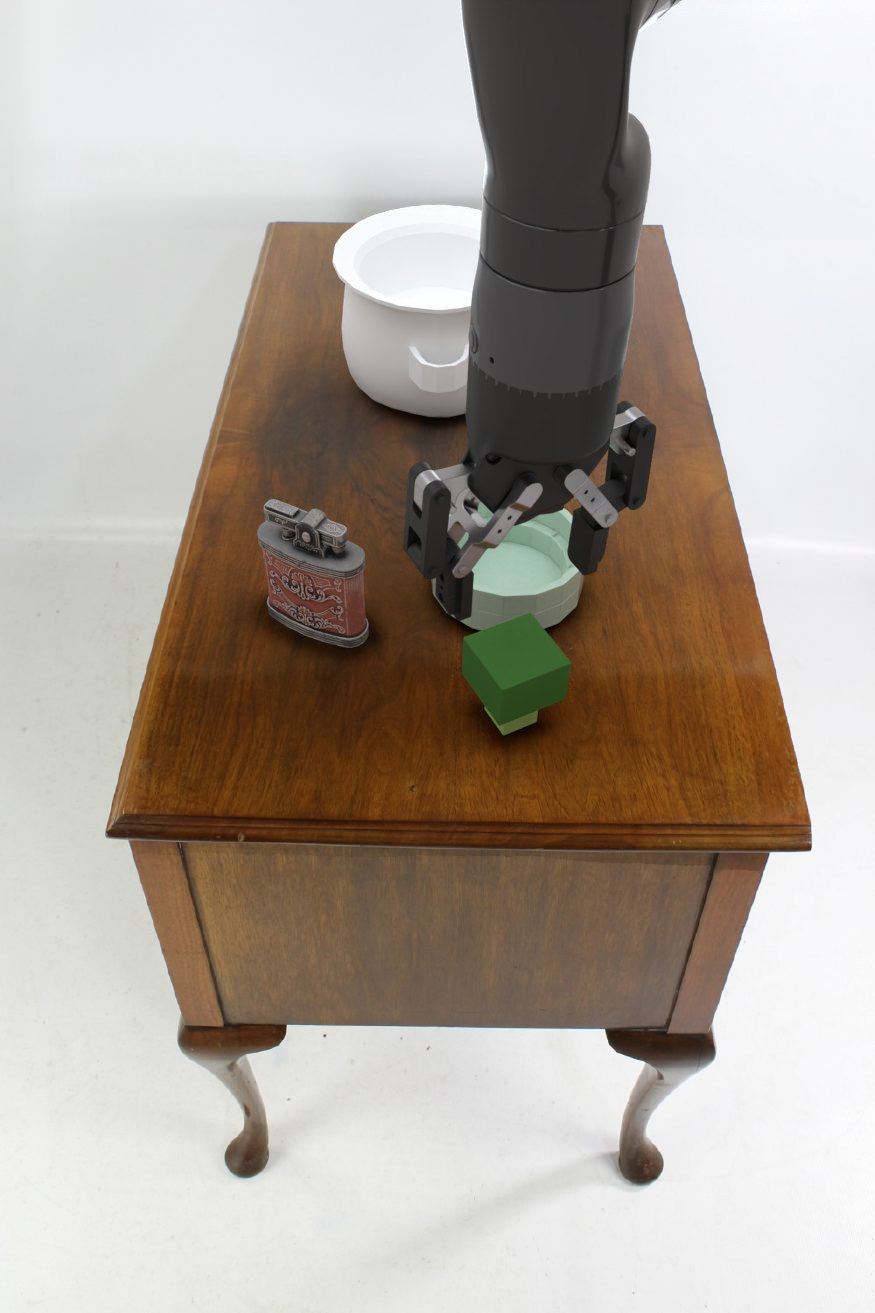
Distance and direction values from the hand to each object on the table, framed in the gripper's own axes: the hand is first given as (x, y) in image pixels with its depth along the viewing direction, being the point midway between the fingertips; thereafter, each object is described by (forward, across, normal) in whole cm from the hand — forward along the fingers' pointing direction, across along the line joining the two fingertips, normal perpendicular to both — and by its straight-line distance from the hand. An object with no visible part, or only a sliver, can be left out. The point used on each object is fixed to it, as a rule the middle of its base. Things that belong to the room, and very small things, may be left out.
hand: (520, 587), depth 63 cm
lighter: (+12, -8, +14) cm, 20 cm away
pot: (+12, +14, +38) cm, 42 cm away
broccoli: (+12, 0, 0) cm, 12 cm away
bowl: (+12, +6, +11) cm, 17 cm away
